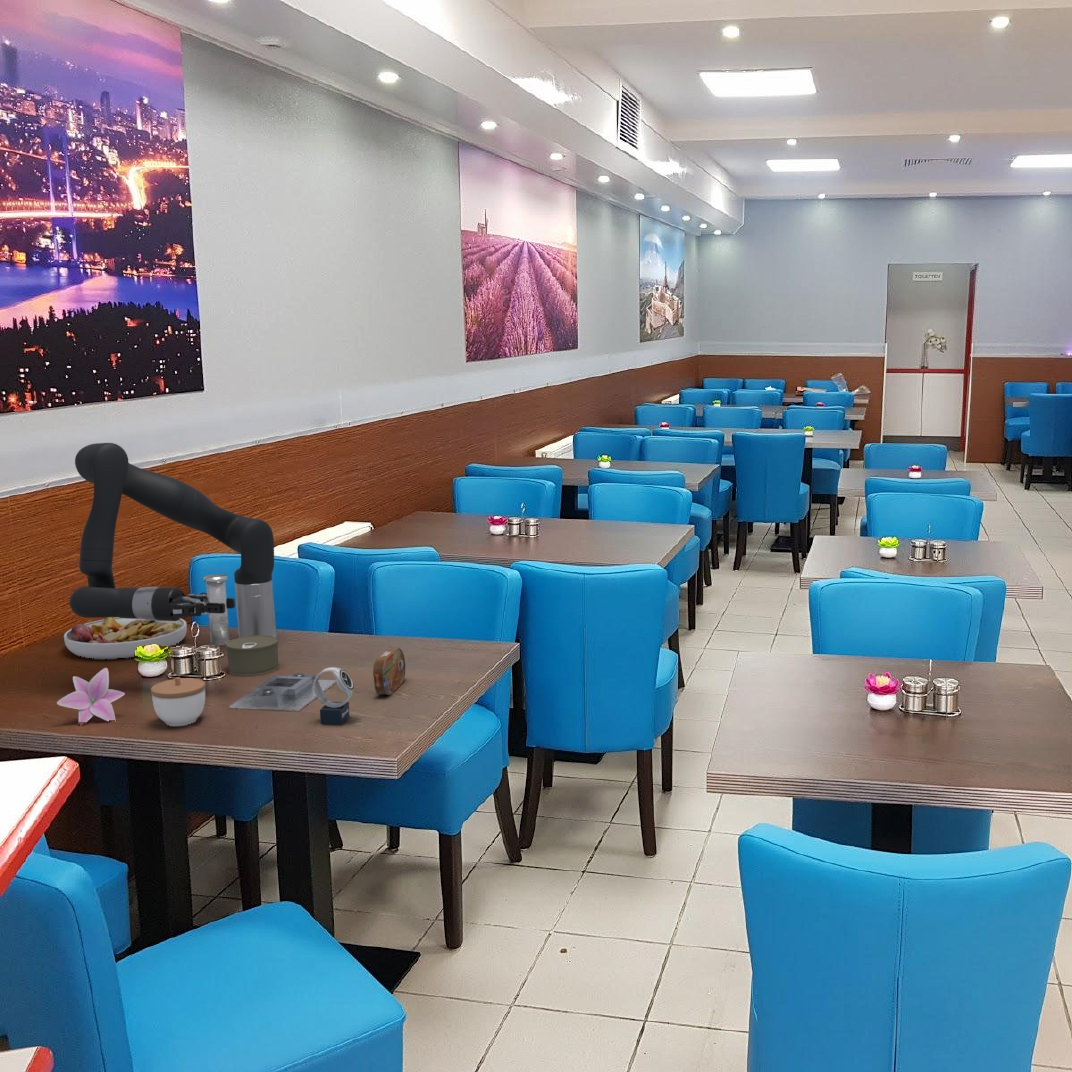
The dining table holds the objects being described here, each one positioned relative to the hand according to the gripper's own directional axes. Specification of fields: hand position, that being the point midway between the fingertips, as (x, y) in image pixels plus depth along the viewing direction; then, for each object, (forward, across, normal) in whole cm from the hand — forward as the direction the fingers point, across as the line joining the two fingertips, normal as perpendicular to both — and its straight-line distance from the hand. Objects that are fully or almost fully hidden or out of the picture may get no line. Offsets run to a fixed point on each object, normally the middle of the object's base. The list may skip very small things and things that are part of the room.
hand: (229, 605), depth 257 cm
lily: (-21, -21, +20) cm, 36 cm away
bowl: (-47, +34, +21) cm, 62 cm away
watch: (+30, -15, +20) cm, 39 cm away
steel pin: (-3, 0, +8) cm, 9 cm away
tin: (+34, +7, +20) cm, 40 cm away
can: (-4, +18, +20) cm, 27 cm away
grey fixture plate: (+12, 0, +20) cm, 23 cm away
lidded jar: (-2, -20, +20) cm, 28 cm away
